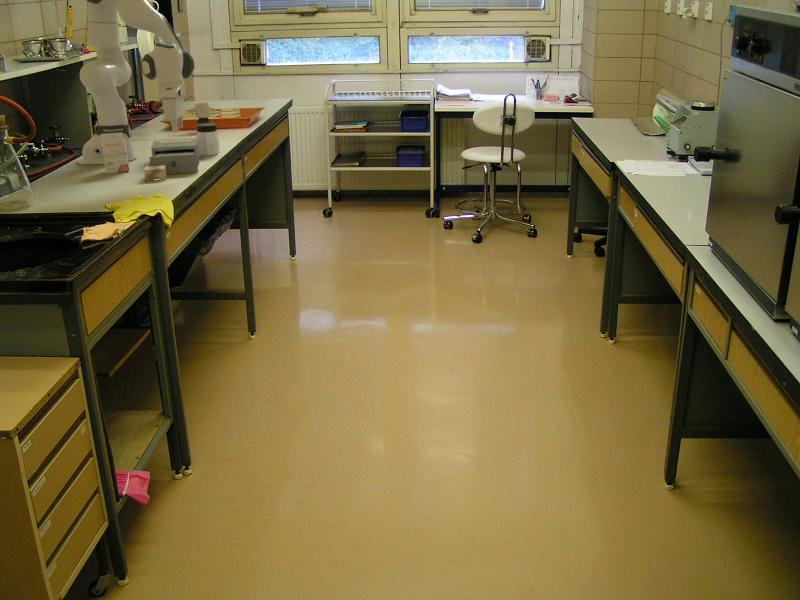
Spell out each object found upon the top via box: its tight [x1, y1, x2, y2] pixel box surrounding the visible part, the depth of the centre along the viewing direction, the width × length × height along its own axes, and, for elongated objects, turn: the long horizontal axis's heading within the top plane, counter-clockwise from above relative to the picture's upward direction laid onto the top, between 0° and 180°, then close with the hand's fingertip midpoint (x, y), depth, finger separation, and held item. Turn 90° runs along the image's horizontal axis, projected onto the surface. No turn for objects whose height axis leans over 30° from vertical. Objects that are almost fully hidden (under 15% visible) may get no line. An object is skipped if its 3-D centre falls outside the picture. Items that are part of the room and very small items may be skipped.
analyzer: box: [150, 138, 200, 166], centre depth 334 cm, size 17×16×8 cm
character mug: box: [190, 102, 215, 124], centre depth 404 cm, size 11×7×13 cm, turn 92°
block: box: [143, 165, 167, 181], centre depth 307 cm, size 7×7×4 cm
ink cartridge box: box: [100, 132, 130, 174], centre depth 319 cm, size 9×5×15 cm, turn 105°
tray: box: [149, 152, 199, 175], centre depth 320 cm, size 17×17×7 cm
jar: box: [195, 122, 221, 157], centre depth 349 cm, size 9×8×12 cm
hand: (178, 130), depth 305 cm, fingers open, 8 cm apart
